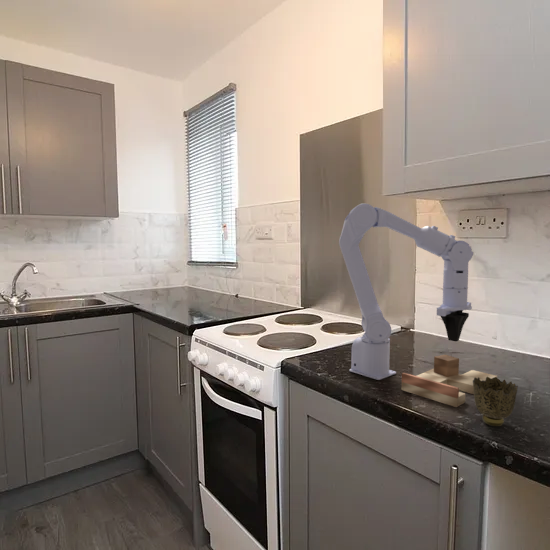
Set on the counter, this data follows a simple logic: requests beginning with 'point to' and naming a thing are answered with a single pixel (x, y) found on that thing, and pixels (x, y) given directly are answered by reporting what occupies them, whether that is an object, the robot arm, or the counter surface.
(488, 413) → the cup
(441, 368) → the walnut cube
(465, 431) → the counter surface
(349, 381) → the counter surface
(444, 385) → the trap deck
